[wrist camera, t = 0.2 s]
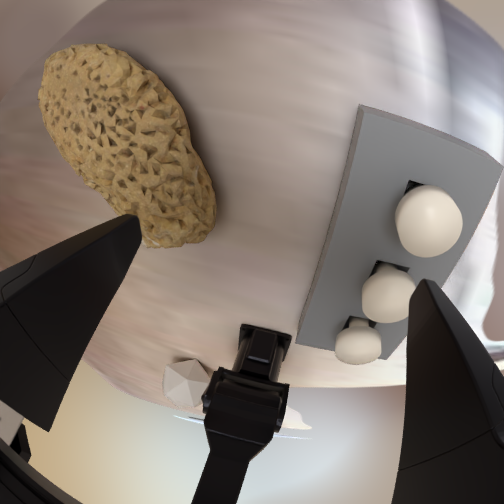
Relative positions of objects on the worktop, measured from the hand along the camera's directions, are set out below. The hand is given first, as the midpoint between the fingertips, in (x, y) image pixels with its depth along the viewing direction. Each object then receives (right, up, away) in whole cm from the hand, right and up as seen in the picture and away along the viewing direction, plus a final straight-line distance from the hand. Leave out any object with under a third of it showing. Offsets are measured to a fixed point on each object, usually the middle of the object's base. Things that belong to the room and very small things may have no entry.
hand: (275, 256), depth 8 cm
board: (+11, 0, +15) cm, 19 cm away
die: (-11, -20, +39) cm, 45 cm away
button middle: (+11, -1, +14) cm, 18 cm away
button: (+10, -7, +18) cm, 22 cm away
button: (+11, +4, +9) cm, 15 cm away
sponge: (-11, +11, +14) cm, 21 cm away
